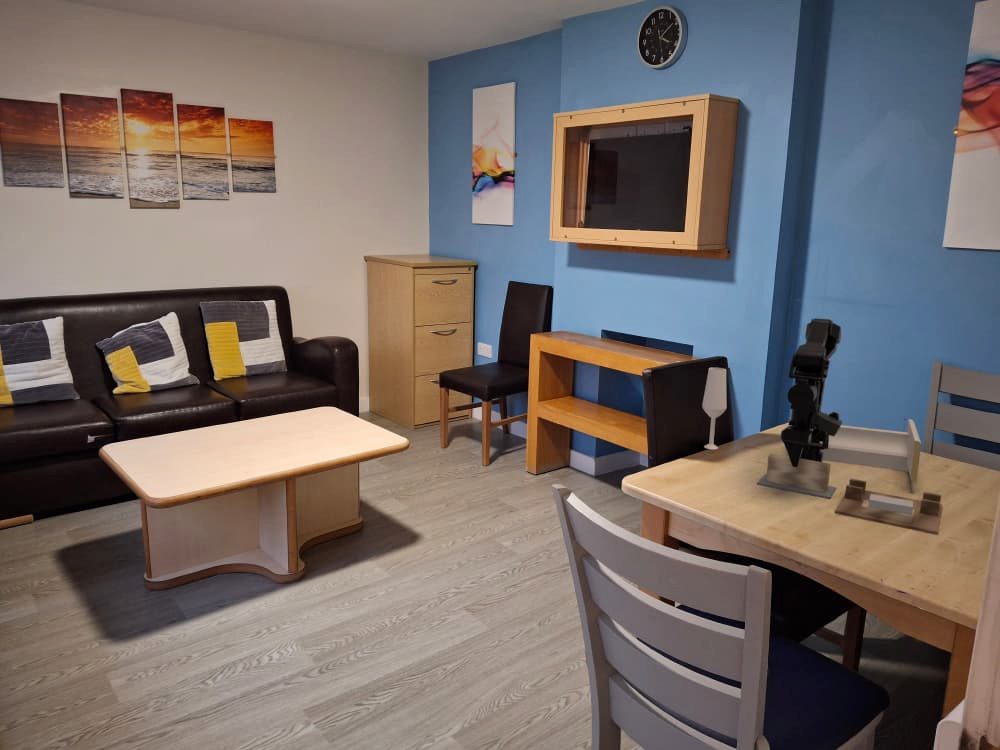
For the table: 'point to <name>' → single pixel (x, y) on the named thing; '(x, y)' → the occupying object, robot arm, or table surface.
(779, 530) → the table surface
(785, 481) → the plywood sheet
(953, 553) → the table surface
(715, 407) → the champagne flute
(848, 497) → the offcut rack
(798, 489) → the slate mat
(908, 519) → the offcut lower
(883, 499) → the offcut upper
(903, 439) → the crown molding
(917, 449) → the baseboard
